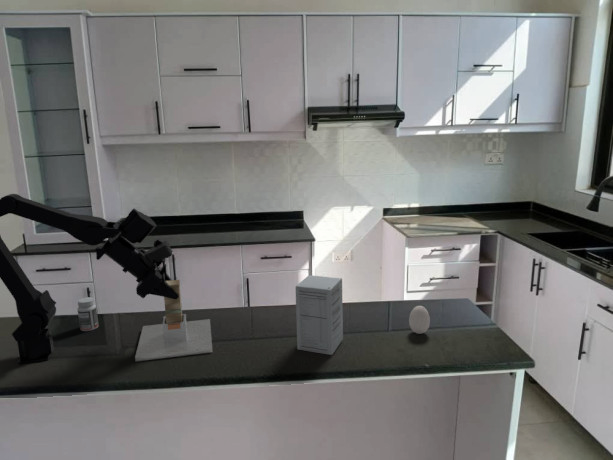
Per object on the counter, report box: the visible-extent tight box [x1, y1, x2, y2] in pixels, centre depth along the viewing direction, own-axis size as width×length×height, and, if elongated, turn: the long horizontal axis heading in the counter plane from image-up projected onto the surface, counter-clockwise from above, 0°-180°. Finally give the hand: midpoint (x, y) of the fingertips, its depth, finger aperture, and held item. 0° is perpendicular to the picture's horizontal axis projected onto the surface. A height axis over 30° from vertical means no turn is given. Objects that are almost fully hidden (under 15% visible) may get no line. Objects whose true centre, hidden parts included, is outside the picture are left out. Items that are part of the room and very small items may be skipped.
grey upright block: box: [295, 274, 344, 356], centre depth 115 cm, size 10×9×17 cm
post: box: [163, 279, 183, 323], centre depth 118 cm, size 4×4×10 cm
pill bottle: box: [77, 296, 99, 332], centre depth 128 cm, size 5×5×8 cm
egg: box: [408, 305, 431, 335], centre depth 122 cm, size 5×5×8 cm
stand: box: [134, 313, 214, 362], centre depth 120 cm, size 18×18×6 cm
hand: (178, 294), depth 118 cm, fingers closed on post, 4 cm apart
